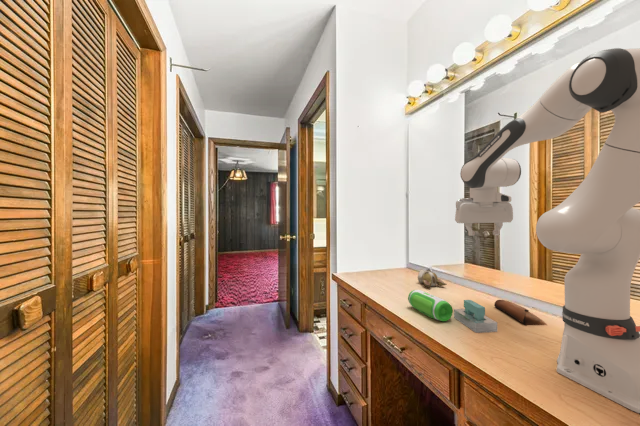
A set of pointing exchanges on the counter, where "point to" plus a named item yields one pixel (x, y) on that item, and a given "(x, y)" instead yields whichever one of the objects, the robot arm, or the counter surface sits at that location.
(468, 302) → the clip
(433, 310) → the speaker
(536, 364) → the counter surface
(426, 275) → the ceramic sculpture
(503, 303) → the brown tapered cylinder
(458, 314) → the grey slotted block
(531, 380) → the counter surface
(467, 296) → the counter surface
